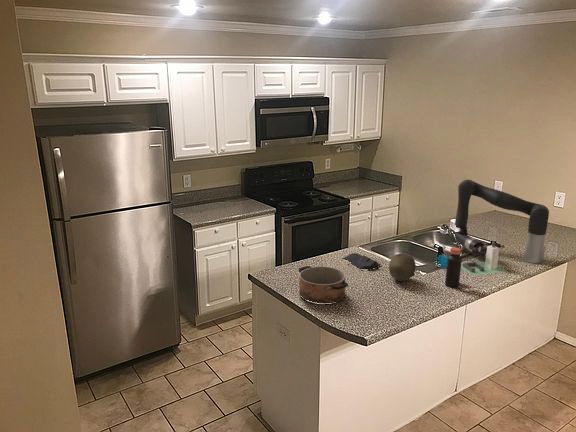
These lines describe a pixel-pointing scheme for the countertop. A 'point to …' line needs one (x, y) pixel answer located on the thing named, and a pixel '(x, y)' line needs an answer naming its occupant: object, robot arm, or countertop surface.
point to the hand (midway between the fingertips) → (491, 254)
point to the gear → (442, 260)
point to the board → (486, 269)
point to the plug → (492, 256)
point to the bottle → (453, 268)
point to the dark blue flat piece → (361, 261)
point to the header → (468, 265)
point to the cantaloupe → (402, 266)
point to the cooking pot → (322, 284)
